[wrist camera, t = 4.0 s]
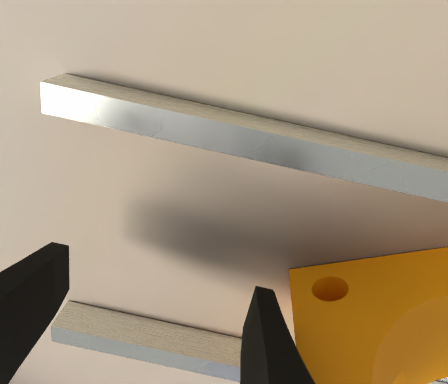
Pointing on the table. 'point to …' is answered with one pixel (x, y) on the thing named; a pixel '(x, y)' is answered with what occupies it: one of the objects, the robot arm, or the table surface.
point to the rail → (229, 144)
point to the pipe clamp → (373, 319)
